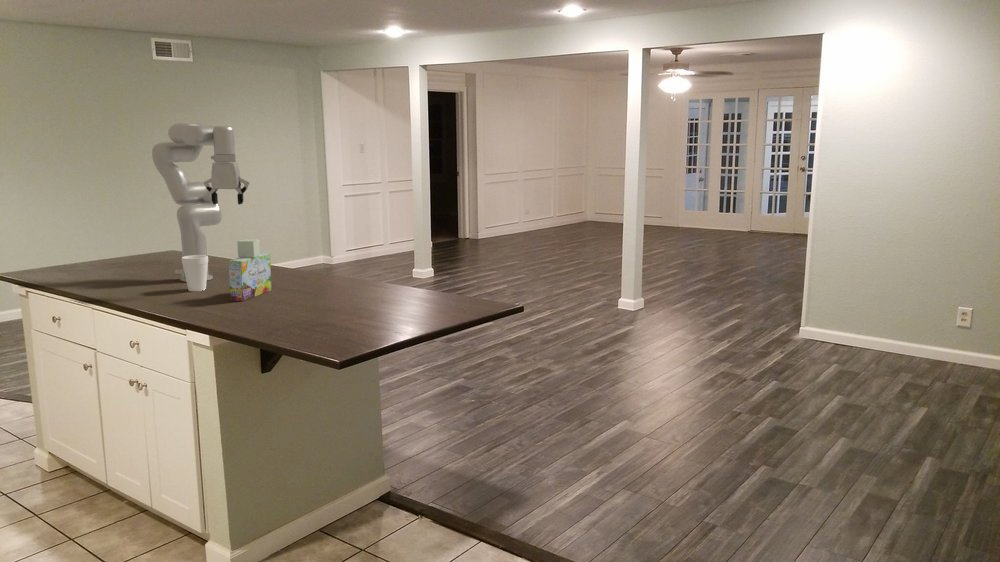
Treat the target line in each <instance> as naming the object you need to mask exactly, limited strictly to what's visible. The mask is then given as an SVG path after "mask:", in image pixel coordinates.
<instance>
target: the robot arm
mask: <svg viewBox="0 0 1000 562" xmlns="http://www.w3.org/2000/svg"><path fill="white" fill-rule="evenodd" d="M167 134H168V135H167V136H168V137H169V140H171V141H161V142H158V143H156V144H155V145H154V146H153V147H152V151H151V156H152V158H151V159H152V160H153V164H154V166H155V168H156V170H157V171H158V173H159V174H160V175H161V177H162V178H163V180H164V181H165V184H166V188H168V191H169V193H170V195H171V198H172V199H173V201H174V203H175V204H177V205H179V207H178V208H177V211H176V220H177V222H178V227H179V231H180V241H181V253H182V254H181V255H182V257H184V256H190V255H206V256H208V249H207V248H208V247H207V238H206V234H205V233H204V232H203V230H202V229H201V228H200V227H209V226H216V225H218V224H221V222H222V218H223V213H222V210H221V208H220V205H219V199H218V193H217V191H218V190H235V191H236V192H237V195H236V196H237V205H243V202H244V193H245V192H246V191H247V190H248V188H249V185H250V181H248V180H246V179H244V178H242V177H241V173H240V167H239V164H238V162H237V161H236V159H237V158H236V147H235V145H236V144H235V129H234V128H233V127H232V126H229V125H202V124H200V123H194V122H193V123H192V122H191V123H189V122H187V123H185V122H184V123H183V122H179V123H178V122H177V123H174V124H173V125H171V126H170V127H169V129H168V131H167ZM204 146H213V155H211V156H210V160H213V162H212V163H211V171H210V172H211V176H210V178H209V179H207V180H205V181H190V180H189V179H188V177H187V175H186V173H185V172H184V171H183V169H182V168H180V167H179V166H178V165H176V164H175V163H192V162H194V161H196V160H197V159H198V157H199V155H200V153H201V151H202V150H203V148H204ZM210 184H211V186H210ZM242 184H244V185H243V187H242ZM174 275H176V276H179V275H180V276H181V277H180V278H179V279H180V281H181V282H184V283H187V282H186V277H185V273H184V268H183V267H182V269H175V270H174ZM213 278H214V277H213V275H212V274H209V266H208V267H207V281H210V280H212V279H213Z"/></svg>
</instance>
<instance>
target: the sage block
mask: <svg viewBox="0 0 1000 562" xmlns="http://www.w3.org/2000/svg"><path fill="white" fill-rule="evenodd" d="M260 241H261V240H260V239H258V238H255V239H254V238H253V239H250V238H247V239H246V238H245V239H241V240H237V243H236V244H237V258H241V257H246V258H254V257H257V256H260V253H261V244H260V243H261V242H260Z"/></svg>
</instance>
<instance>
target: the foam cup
mask: <svg viewBox="0 0 1000 562" xmlns="http://www.w3.org/2000/svg"><path fill="white" fill-rule="evenodd" d="M208 263H209V256H208V255H207V256H206V255H190V256H184V257H183V256H182V257H181V264H182V266H183V267H182V269H183V268H184V273H185V277H186V282H185V283H186V286H187V289H188V291H189V292H202V290H203V291H206V290H207V282H208V280H207V267H208V268H209V264H208ZM205 289H206V290H205Z"/></svg>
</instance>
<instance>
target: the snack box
mask: <svg viewBox="0 0 1000 562" xmlns="http://www.w3.org/2000/svg"><path fill="white" fill-rule="evenodd" d="M271 266H272V264H271V253H269V252H260V256H257V257H254V258H246V257H237V258H234V259H230V260H228V270H229V271H228V272H229V273H228V274H229V276H228V277H229V297H230V298H229V299H230V301H233V302H244V301H246V300H250V299H253V298H255V297H258V296H261V295H263V293H264V294H266V293H268V291H269V292H271V291H272V274H271V273H272V271H271V269H272V267H271ZM260 294H261V295H260Z"/></svg>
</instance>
